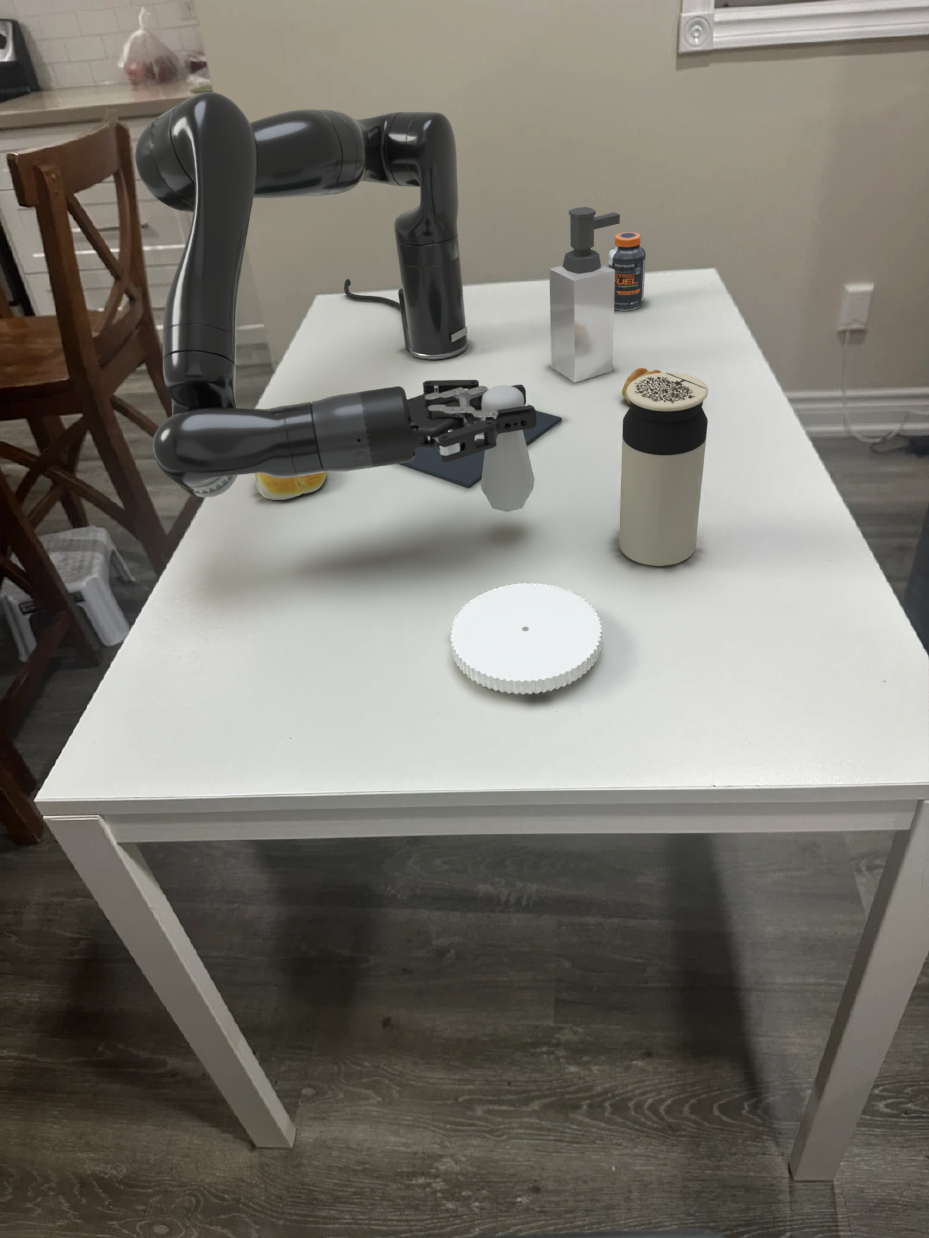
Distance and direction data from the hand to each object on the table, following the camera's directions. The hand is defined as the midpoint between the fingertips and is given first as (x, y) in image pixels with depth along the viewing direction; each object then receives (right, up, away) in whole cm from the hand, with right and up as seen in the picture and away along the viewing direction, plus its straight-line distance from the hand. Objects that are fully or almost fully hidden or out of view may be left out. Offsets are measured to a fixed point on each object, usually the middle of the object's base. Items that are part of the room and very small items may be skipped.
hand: (529, 405), depth 88 cm
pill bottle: (+21, +31, +58) cm, 69 cm away
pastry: (+20, +8, +31) cm, 37 cm away
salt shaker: (-2, -9, +7) cm, 12 cm away
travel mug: (+14, -14, +5) cm, 20 cm away
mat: (-8, +3, +28) cm, 29 cm away
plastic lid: (-1, -25, -6) cm, 26 cm away
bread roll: (-28, -5, +22) cm, 36 cm away
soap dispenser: (+12, +16, +41) cm, 45 cm away
